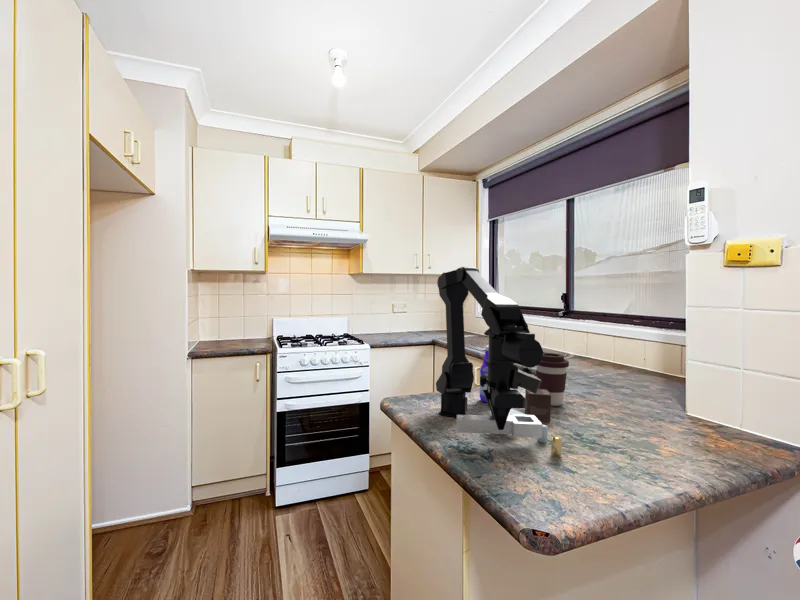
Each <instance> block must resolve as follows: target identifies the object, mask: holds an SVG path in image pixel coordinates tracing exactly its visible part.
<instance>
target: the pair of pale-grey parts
mask: <svg viewBox="0 0 800 600" xmlns="http://www.w3.org/2000/svg"><path fill="white" fill-rule="evenodd" d="M509 414H519V415H526V414H525V412H522V411H519V410H516V409H515V408H511V409H510V412H509ZM488 416H492V413H491V411H489V413H488ZM537 441H538V442H540V443H547V442H548V425H545V424H542V438H537Z"/></svg>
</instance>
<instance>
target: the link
mask: <svg viewBox="0 0 800 600" xmlns="http://www.w3.org/2000/svg"><path fill="white" fill-rule="evenodd" d="M455 423H456V424H455V425H456V427H455V428H456V431H457V434H458V433H460V434H463V433H465V434H485V435H487V434H488V435H489V434H491V435H512V437H513V438H528V439H531V438H533V439H538V438H542V425H543V424H542V422H541V421H539V420H538V419H537V418H536V417H535V416H534V415H526V414H525V415H519V414H508V417H507V420H506V423H505V426H504V429H503V430H499V429H498V427H497V424H496V421H495V418H494V416H489V415H482V414H481V415H480V414H479V415H478V414H477V415H474V414H464V415H457V417H456V421H455Z"/></svg>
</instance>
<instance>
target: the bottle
mask: <svg viewBox="0 0 800 600" xmlns="http://www.w3.org/2000/svg"><path fill="white" fill-rule="evenodd" d="M488 349H489V344H487V345H485V353H484V356H483V358H482V364H481V366H480V369H479V377H480V376H481V375H482V374H484V373H488V366H487V365H486V360H488ZM483 390H487V385H486V384H485V385H484V387H482V386H481V385H480V384H479V398H480V401H482V402H484V403H487V404H488V402H487V400H486V397H485V394H484V392H483Z"/></svg>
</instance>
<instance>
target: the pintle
mask: <svg viewBox="0 0 800 600" xmlns="http://www.w3.org/2000/svg"><path fill="white" fill-rule="evenodd" d="M562 441H563V439H562V437H561V436H560V435H559V436H558V435H552V436H551V443H550V444H551V445H550V448H551V449H550V456H551V457H552V458H554V459H561V458H562V446H563V445H562V443H563V442H562Z"/></svg>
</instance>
